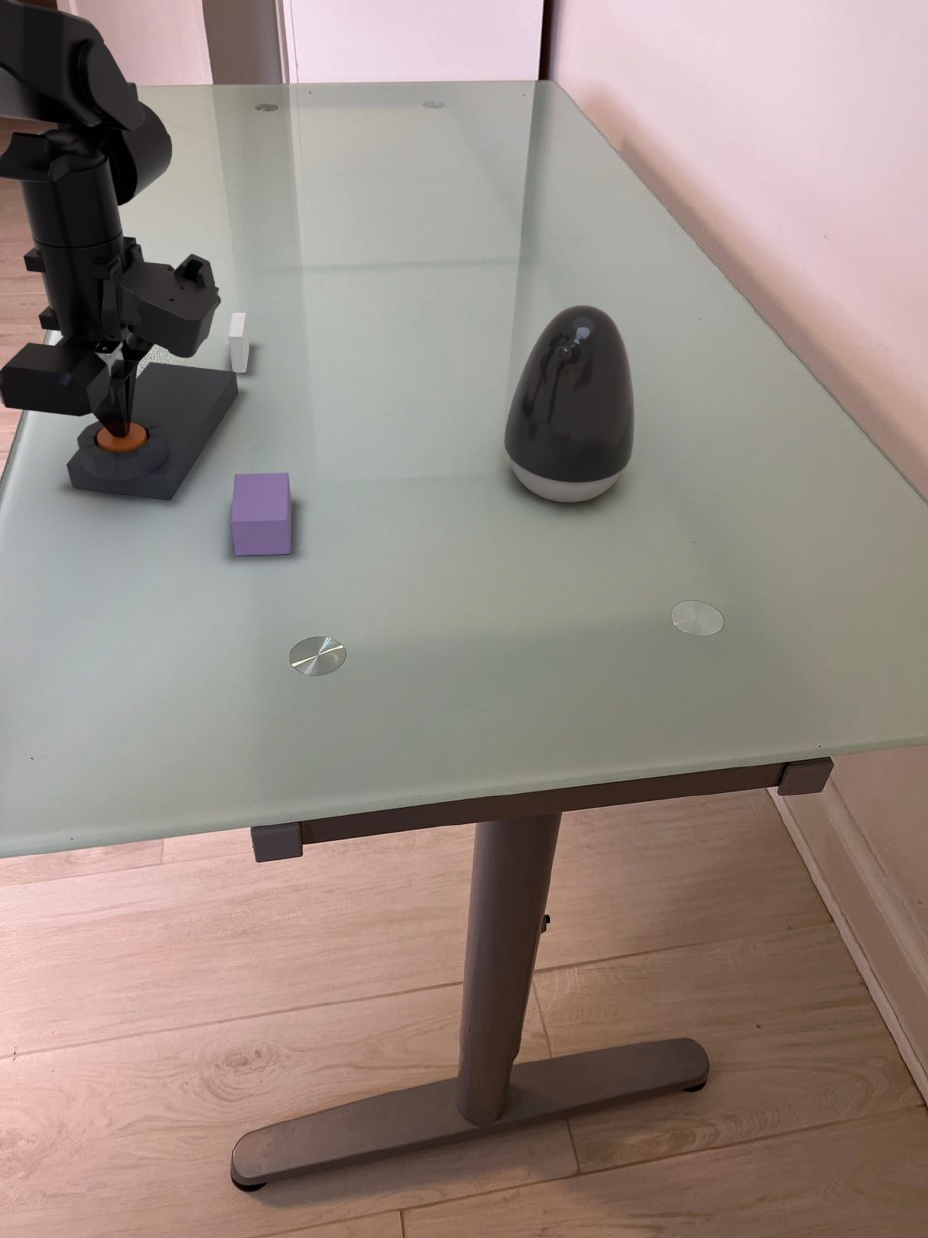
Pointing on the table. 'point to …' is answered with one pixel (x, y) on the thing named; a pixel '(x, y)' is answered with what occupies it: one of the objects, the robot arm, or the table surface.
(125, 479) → the button base
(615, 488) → the table surface
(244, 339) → the eraser
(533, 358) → the dark grey egg dome
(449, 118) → the table surface
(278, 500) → the soap bar
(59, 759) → the table surface
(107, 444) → the orange push button
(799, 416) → the table surface
